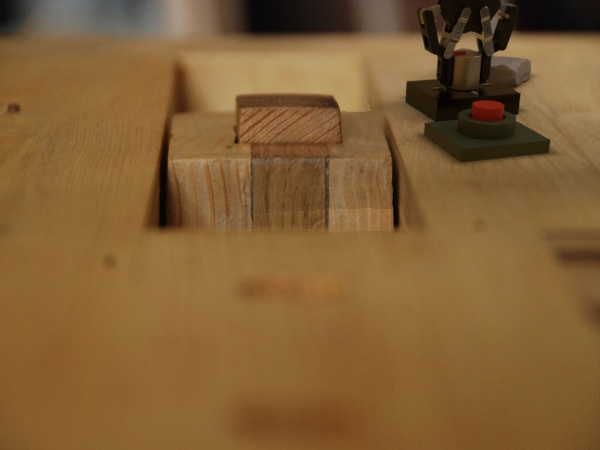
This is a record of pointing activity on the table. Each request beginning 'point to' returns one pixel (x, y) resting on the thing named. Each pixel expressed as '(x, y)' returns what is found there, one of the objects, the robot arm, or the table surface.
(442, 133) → the button box
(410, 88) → the panel
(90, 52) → the table surface
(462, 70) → the dial
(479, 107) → the button
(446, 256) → the table surface
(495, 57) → the stone block
